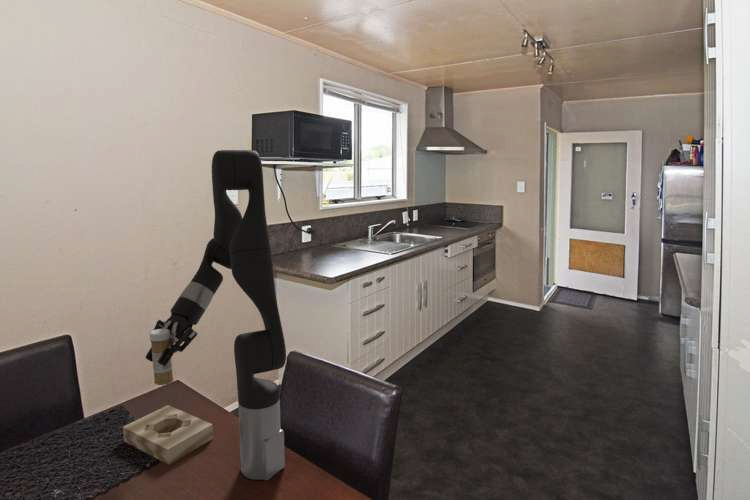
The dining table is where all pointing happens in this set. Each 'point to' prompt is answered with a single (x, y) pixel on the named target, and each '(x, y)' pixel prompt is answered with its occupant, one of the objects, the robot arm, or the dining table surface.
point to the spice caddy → (168, 434)
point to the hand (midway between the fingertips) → (155, 361)
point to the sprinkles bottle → (159, 344)
